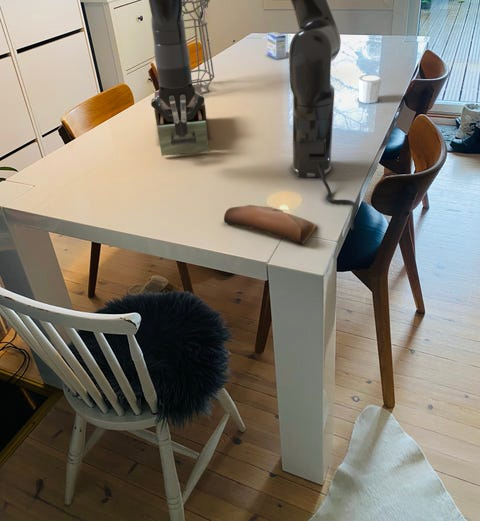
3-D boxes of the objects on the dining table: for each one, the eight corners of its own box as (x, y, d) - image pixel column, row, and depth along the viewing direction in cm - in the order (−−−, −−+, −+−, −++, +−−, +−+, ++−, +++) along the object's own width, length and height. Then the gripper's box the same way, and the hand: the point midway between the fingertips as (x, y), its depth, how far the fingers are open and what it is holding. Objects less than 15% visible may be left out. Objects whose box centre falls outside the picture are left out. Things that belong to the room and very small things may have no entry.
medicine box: (267, 55, 208) (266, 33, 203) (276, 53, 209) (276, 31, 204) (276, 59, 202) (275, 36, 197) (286, 57, 203) (285, 35, 198)
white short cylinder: (354, 102, 159) (356, 80, 155) (360, 95, 164) (362, 73, 160) (376, 105, 156) (378, 82, 152) (381, 97, 161) (384, 75, 157)
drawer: (210, 157, 131) (207, 128, 126) (161, 163, 130) (157, 134, 125) (204, 129, 146) (202, 102, 141) (161, 134, 145) (157, 107, 141)
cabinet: (208, 139, 143) (205, 105, 137) (159, 144, 142) (154, 110, 136) (204, 118, 156) (201, 87, 150) (159, 123, 155) (154, 91, 149)
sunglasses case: (318, 223, 104) (312, 207, 98) (306, 253, 102) (299, 238, 96) (243, 204, 112) (233, 188, 106) (230, 232, 110) (219, 217, 104)
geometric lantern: (179, 101, 170) (164, -16, 149) (167, 88, 181) (151, -22, 160) (223, 92, 174) (214, -23, 153) (208, 80, 186) (197, -28, 165)
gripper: (142, 70, 108) (154, 145, 119) (203, 64, 109) (210, 139, 120) (143, 60, 114) (155, 132, 125) (201, 55, 115) (208, 127, 126)
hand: (182, 136), depth 122 cm, fingers closed
